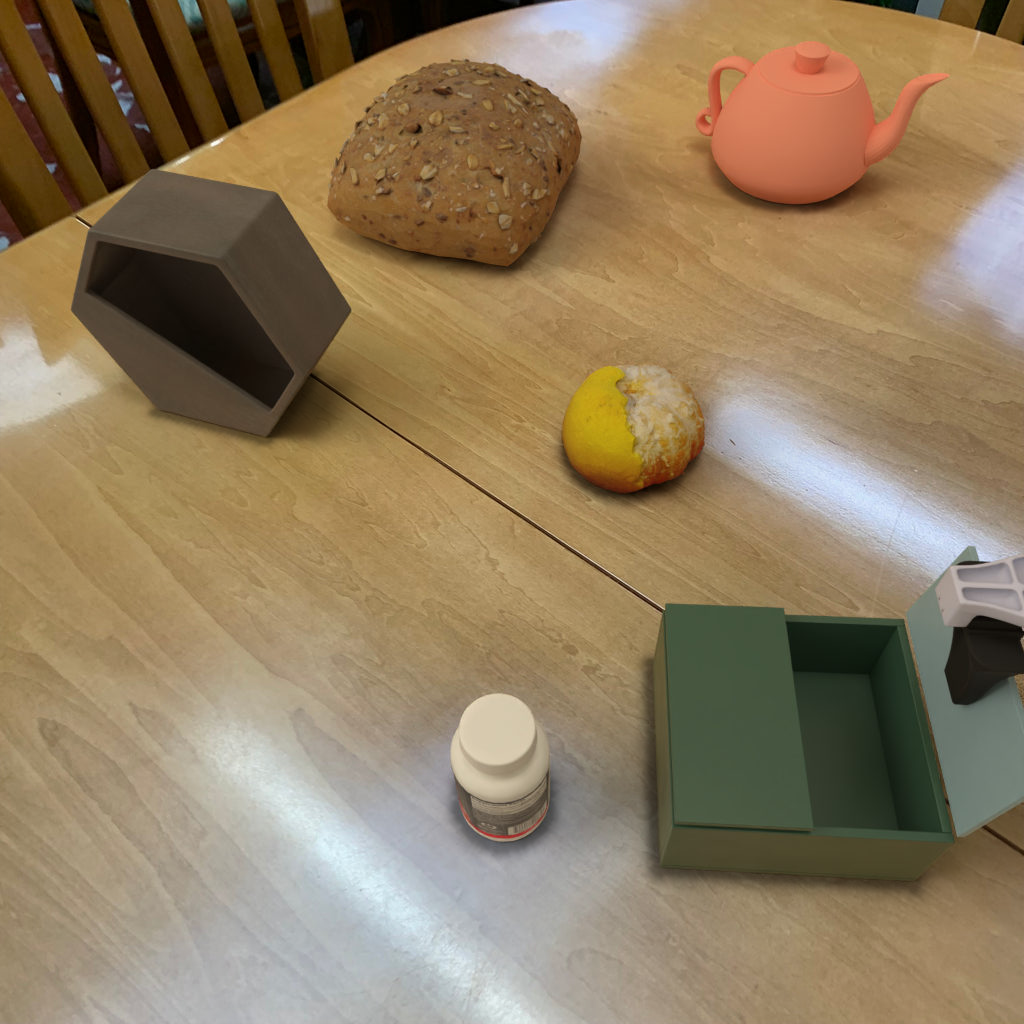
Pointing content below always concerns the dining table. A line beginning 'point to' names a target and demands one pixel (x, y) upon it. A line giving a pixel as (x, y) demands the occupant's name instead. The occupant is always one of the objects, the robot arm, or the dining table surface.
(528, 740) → the pill bottle
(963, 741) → the hatch
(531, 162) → the bread
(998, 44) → the dining table surface
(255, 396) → the planter
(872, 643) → the seed box
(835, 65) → the teapot
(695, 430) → the fruit
